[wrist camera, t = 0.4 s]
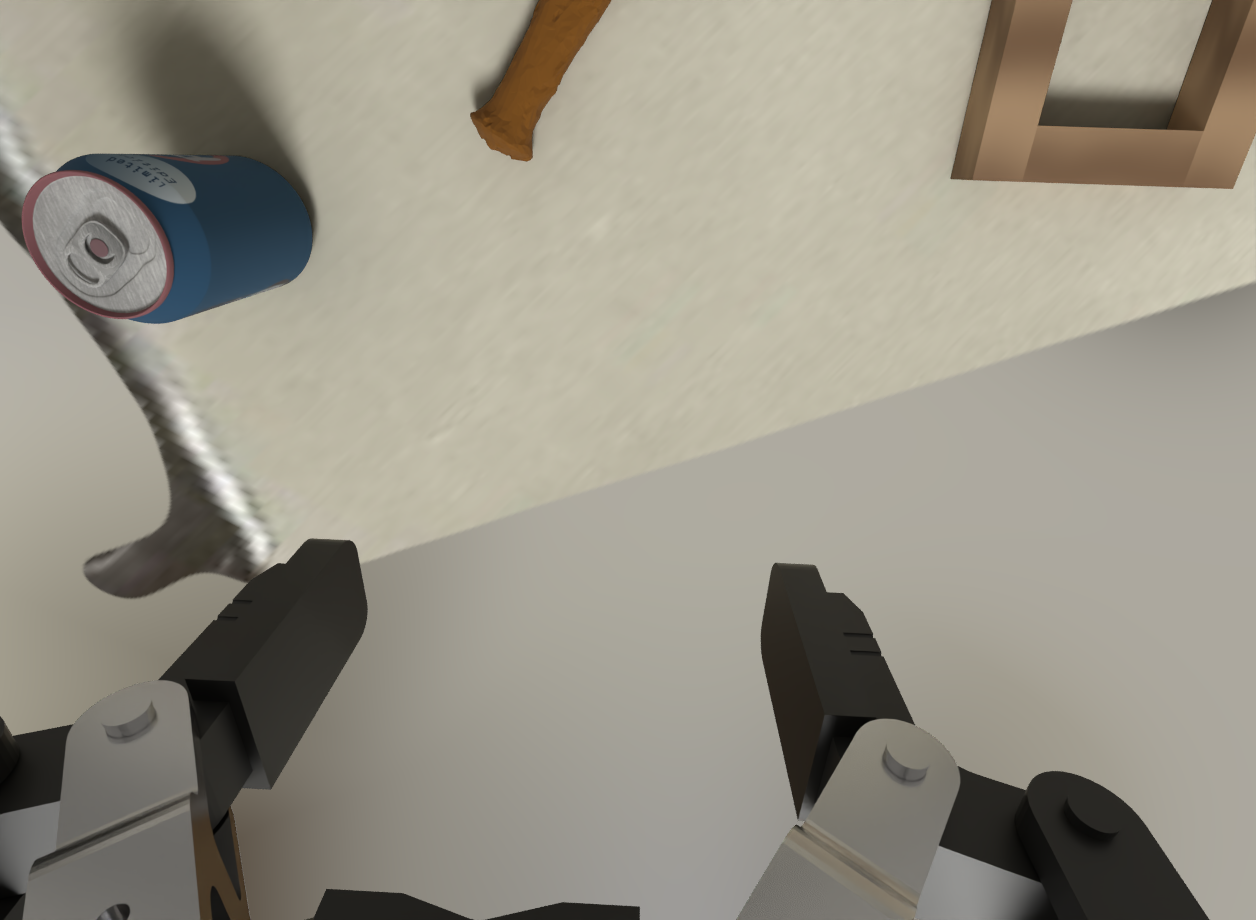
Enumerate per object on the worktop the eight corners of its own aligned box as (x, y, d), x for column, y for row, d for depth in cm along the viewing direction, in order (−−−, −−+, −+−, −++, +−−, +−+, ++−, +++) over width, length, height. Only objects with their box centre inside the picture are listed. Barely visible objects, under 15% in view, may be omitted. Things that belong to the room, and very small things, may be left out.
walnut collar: (1023, -137, 28) (1056, -163, 26) (1315, -129, 28) (1374, -155, 26) (950, 179, 34) (972, 180, 31) (1193, 187, 34) (1233, 188, 31)
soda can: (249, 127, 34) (59, 109, 23) (347, 232, 36) (217, 262, 25) (177, 213, 36) (-28, 234, 25) (274, 308, 38) (125, 365, 27)
